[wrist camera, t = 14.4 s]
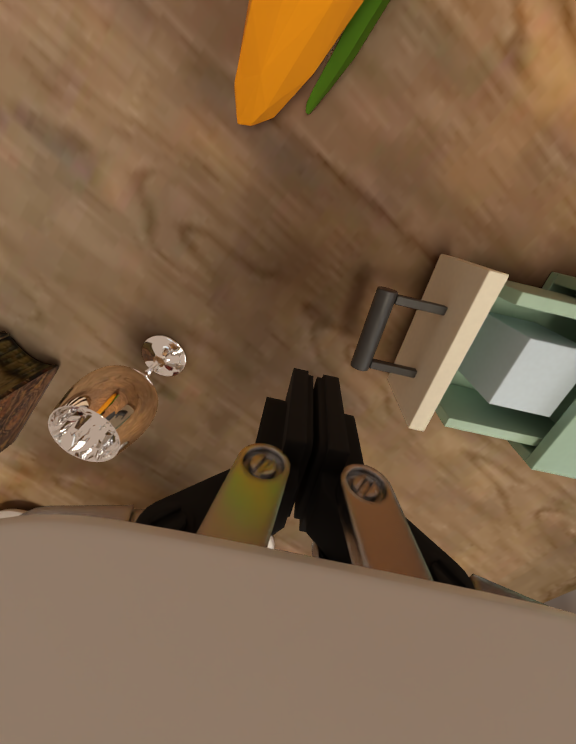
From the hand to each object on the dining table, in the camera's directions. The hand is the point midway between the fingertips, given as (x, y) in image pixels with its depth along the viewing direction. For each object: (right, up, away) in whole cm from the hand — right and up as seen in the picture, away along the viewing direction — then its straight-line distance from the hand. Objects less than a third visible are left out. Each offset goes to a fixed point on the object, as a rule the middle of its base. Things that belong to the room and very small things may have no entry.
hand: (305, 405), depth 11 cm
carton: (+18, +2, +11) cm, 21 cm away
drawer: (+14, +5, +15) cm, 21 cm away
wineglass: (-13, +3, +19) cm, 23 cm away
